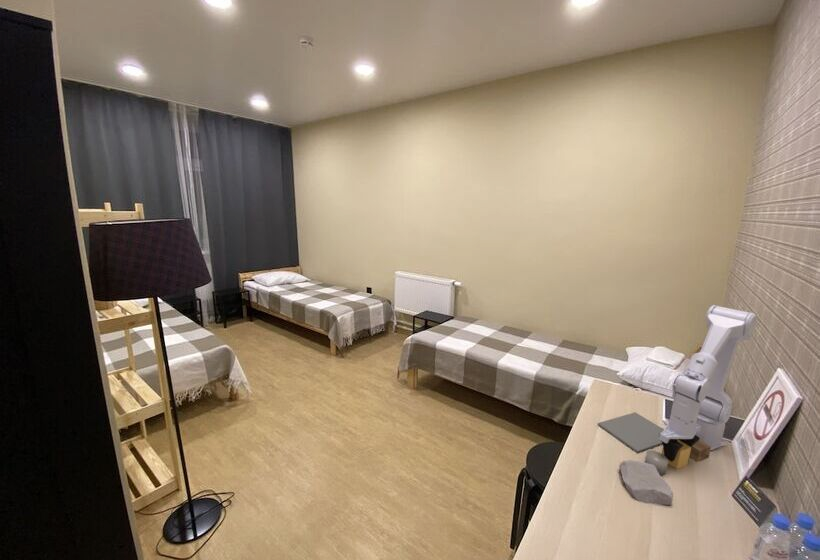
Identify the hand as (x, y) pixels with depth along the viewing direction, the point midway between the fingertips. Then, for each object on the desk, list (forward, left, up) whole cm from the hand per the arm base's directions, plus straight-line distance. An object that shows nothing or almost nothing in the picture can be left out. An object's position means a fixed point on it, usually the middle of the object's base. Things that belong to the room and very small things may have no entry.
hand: (674, 456), depth 98 cm
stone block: (+17, +3, -2) cm, 18 cm away
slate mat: (-2, -13, -2) cm, 13 cm away
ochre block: (0, 0, -2) cm, 2 cm away
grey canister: (+8, 0, -2) cm, 8 cm away
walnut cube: (-9, 0, -2) cm, 9 cm away
